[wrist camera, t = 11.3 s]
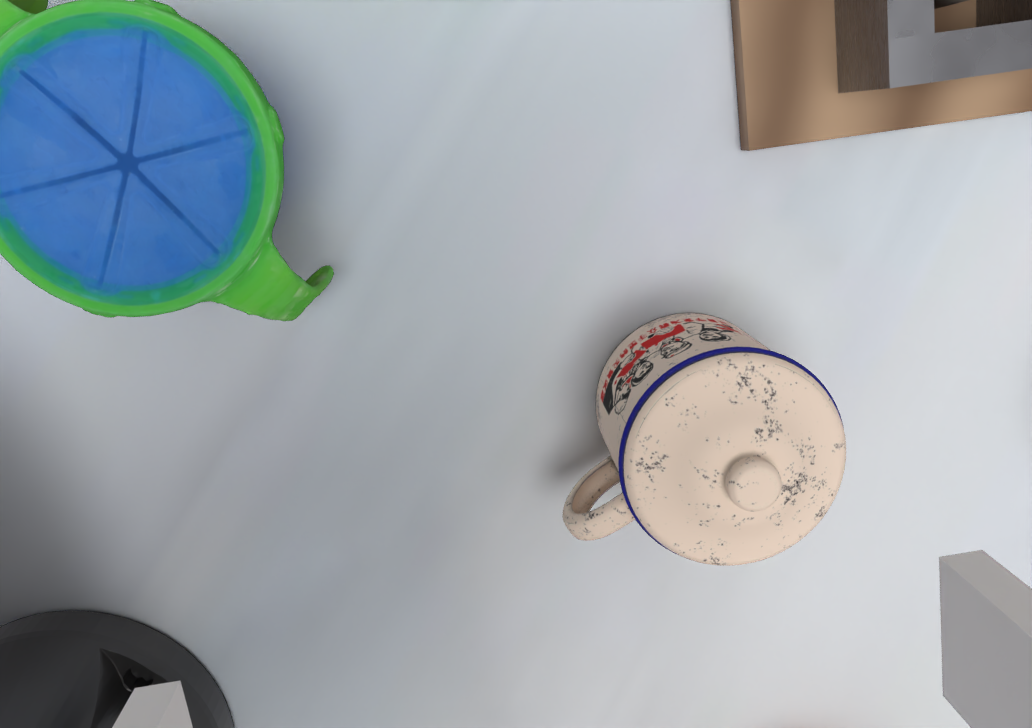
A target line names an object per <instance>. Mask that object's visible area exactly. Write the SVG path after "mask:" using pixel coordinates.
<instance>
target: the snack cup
mask: <svg viewBox="0 0 1032 728" xmlns="http://www.w3.org/2000/svg"><path fill="white" fill-rule="evenodd" d="M47 5H48V0H0V254H1V255H2V256H3V257H4V258H5V259H6V260H7V261H8V262H9V263H10V264H11V265H12V266H13V267H14V268H15V269H16V270H17V271H18V272H19V273H20V274H22V275H23V276H24V277H26V278H27V279H28V280H30V281H31V282H32V283H33V284H35V285H36V286H38V287H39V288H41V289H43V290H45V291H46V292H48V293H49V294H51V295H53V296H55V297H57V298H59V299H61V300H63V301H65V302H68V303H70V304H73V305H75V306H78V307H81V308H82V309H83V310H85V311H88V312H90V313H92V314H95V315H101V316H104V317H115V316H127V317H140V316H153V315H159V314H164V313H169V312H173V311H177V310H181V309H184V308H187V307H189V306H192V305H194V304H197V303H200V302H207V301H212V302H216V303H221V304H224V305H227V306H229V307H231V308H234V309H237V310H240V311H243V312H245V313H247V314H248V315H258V316H260V317H263V318H267V319H272V320H281V321H292V320H294V319H296V318H297V317H298V316H299V315H300V314H301V313H302V312H303V311H304V309H305V308H306V307H307V306H308V305H309V304H310V303H311V302H312V301H313V300H314V298H316V297H317V296H318V295H320V294H321V292H322V291H323V290H324V289H325V288H326V287H327V285H328V284H329V283H330V281H331V280H332V277H333V275H334V272H333V268H332V267H331V266H324V267H321V268H320V269H319V270H317V271H316V272H315V273H314V274H313V275H312V276H311V277H310V278H309V279H308V280H306V281H304V280H303V279H302V278H301V277H300V276H298V275H297V274H296V273H294V272H293V271H292V270H291V269H290V268H289V266H288V265H287V263H286V262H285V260H284V259H283V258H282V257H281V255H280V254H279V252H278V250H277V248H276V247H275V246H274V244H273V241H272V231H273V227H274V224H275V221H276V219H277V215H278V211H279V208H280V203H281V200H282V192H283V183H284V162H283V142H284V134H283V130H282V127H281V124H280V121H279V118H278V115H277V112H276V111H275V109H274V108H273V107H272V106H271V105H270V104H269V103H268V101H267V99H266V97H265V95H264V93H263V91H262V89H261V88H260V86H259V85H258V83H257V82H256V80H255V79H254V77H253V76H252V74H251V73H250V72H249V70H248V69H247V68H246V66H245V65H244V64H243V62H242V61H241V60H240V59H239V58H238V57H237V56H236V54H234V53H233V52H232V51H231V50H230V49H229V48H228V47H226V46H225V45H224V44H223V43H222V42H221V41H220V40H219V39H217V38H216V37H214V36H213V35H212V34H210V33H209V32H207V31H206V30H205V29H203V28H201V27H200V26H198V25H196V24H194V23H192V22H191V21H189V20H187V19H185V18H183V17H181V16H180V15H179V14H178V13H177V12H176V11H175V10H174V9H173V8H172V7H170V6H168V5H165V4H162V3H159V2H156V1H153V0H135V1H126V0H79V1H74V2H69V3H65V4H61V5H57V6H54V7H52V8H49V9H46V8H47Z"/></svg>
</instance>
